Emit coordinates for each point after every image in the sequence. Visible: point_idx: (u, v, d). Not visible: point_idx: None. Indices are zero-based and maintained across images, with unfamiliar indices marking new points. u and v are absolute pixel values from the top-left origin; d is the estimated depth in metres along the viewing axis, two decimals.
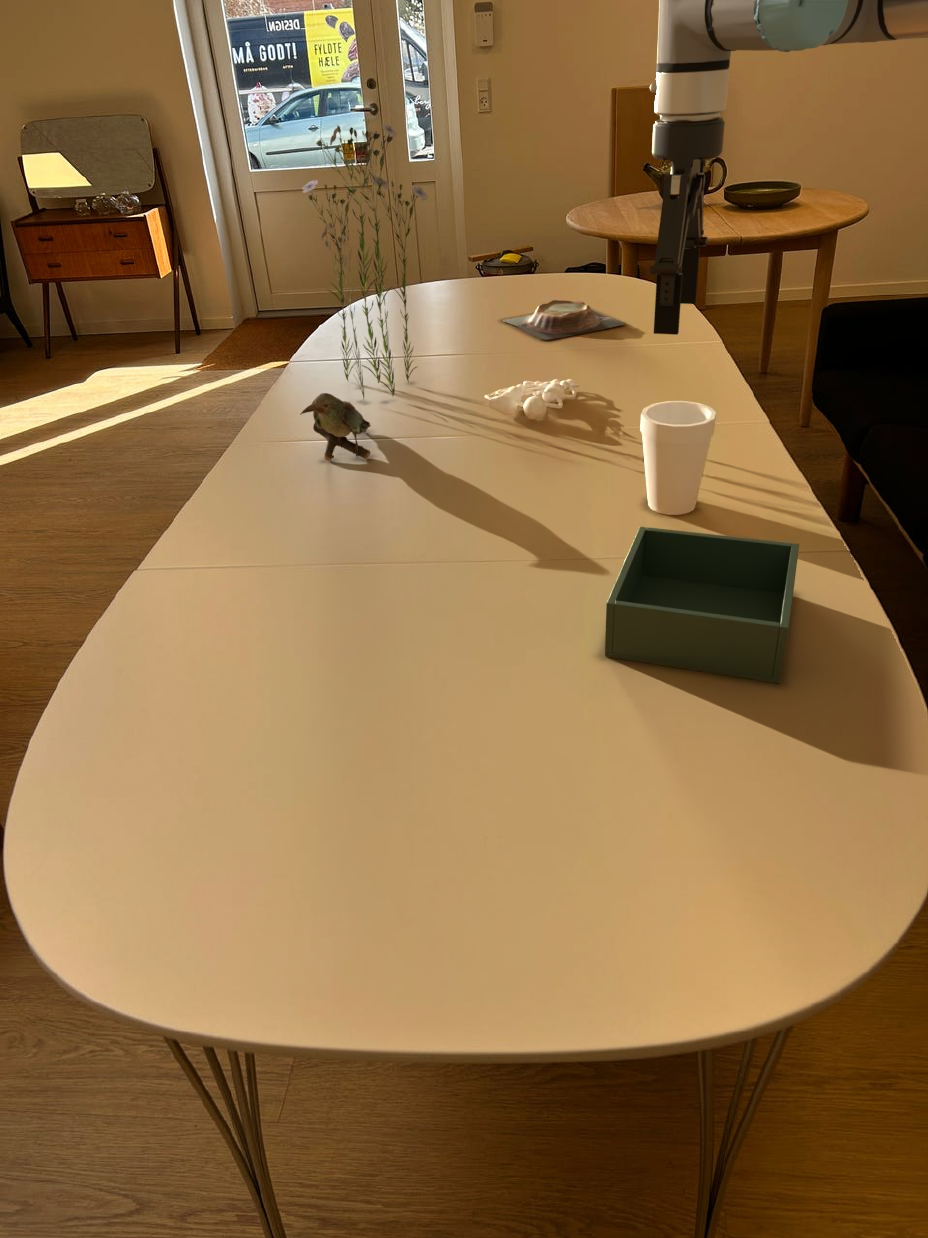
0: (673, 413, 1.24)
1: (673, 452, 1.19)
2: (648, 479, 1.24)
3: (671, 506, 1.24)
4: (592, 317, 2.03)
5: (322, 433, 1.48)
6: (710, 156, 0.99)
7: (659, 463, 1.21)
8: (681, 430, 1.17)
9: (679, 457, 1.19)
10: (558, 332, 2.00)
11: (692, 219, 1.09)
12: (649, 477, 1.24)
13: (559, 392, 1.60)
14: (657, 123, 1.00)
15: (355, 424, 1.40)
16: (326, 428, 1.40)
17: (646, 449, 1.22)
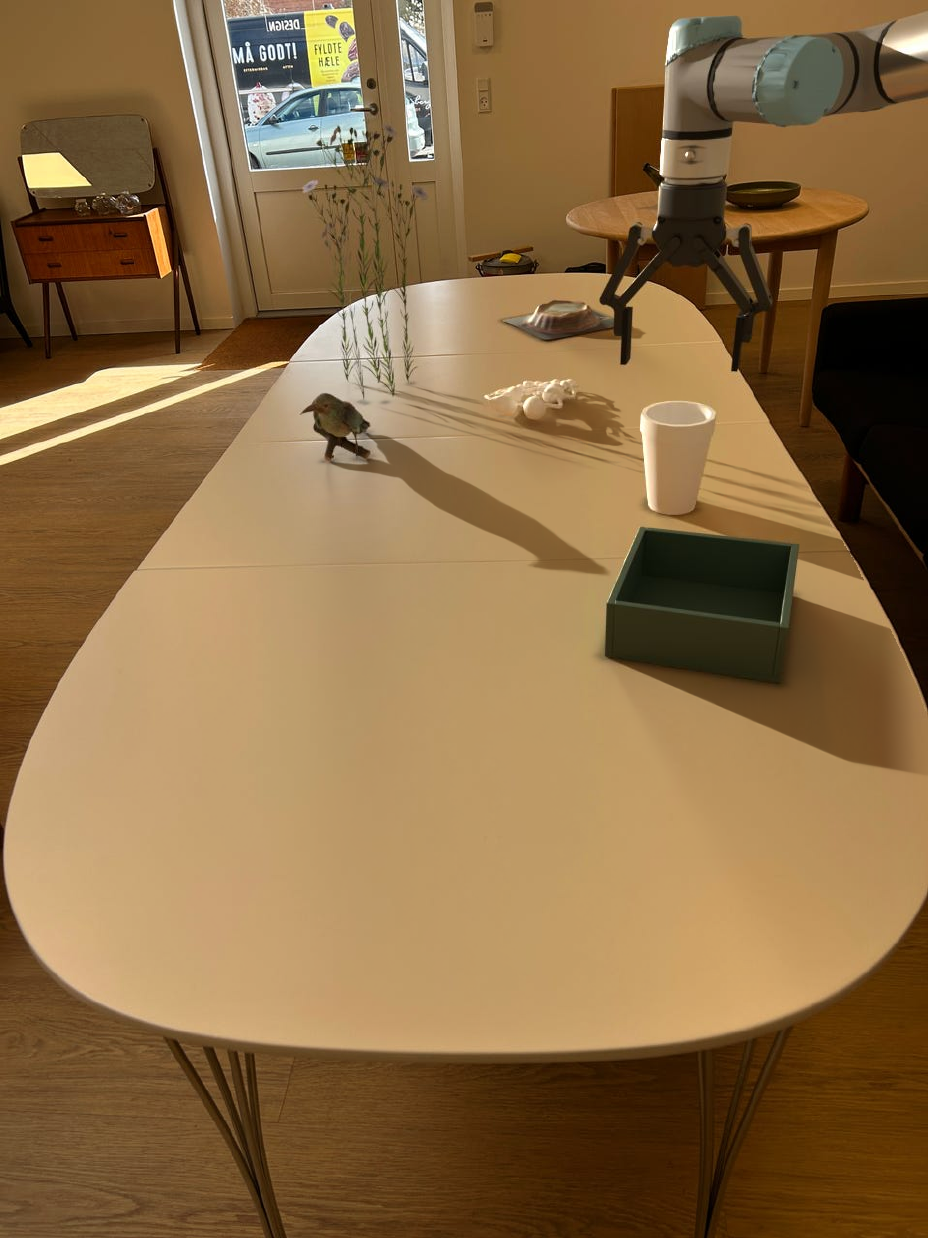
0: (673, 413, 1.24)
1: (673, 452, 1.19)
2: (648, 479, 1.24)
3: (671, 506, 1.24)
4: (592, 317, 2.03)
5: (322, 433, 1.48)
6: None
7: (659, 463, 1.21)
8: (681, 430, 1.17)
9: (679, 457, 1.19)
10: (558, 332, 2.00)
11: None
12: (649, 477, 1.24)
13: (559, 392, 1.60)
14: (705, 187, 1.02)
15: (355, 424, 1.40)
16: (326, 428, 1.40)
17: (646, 449, 1.22)
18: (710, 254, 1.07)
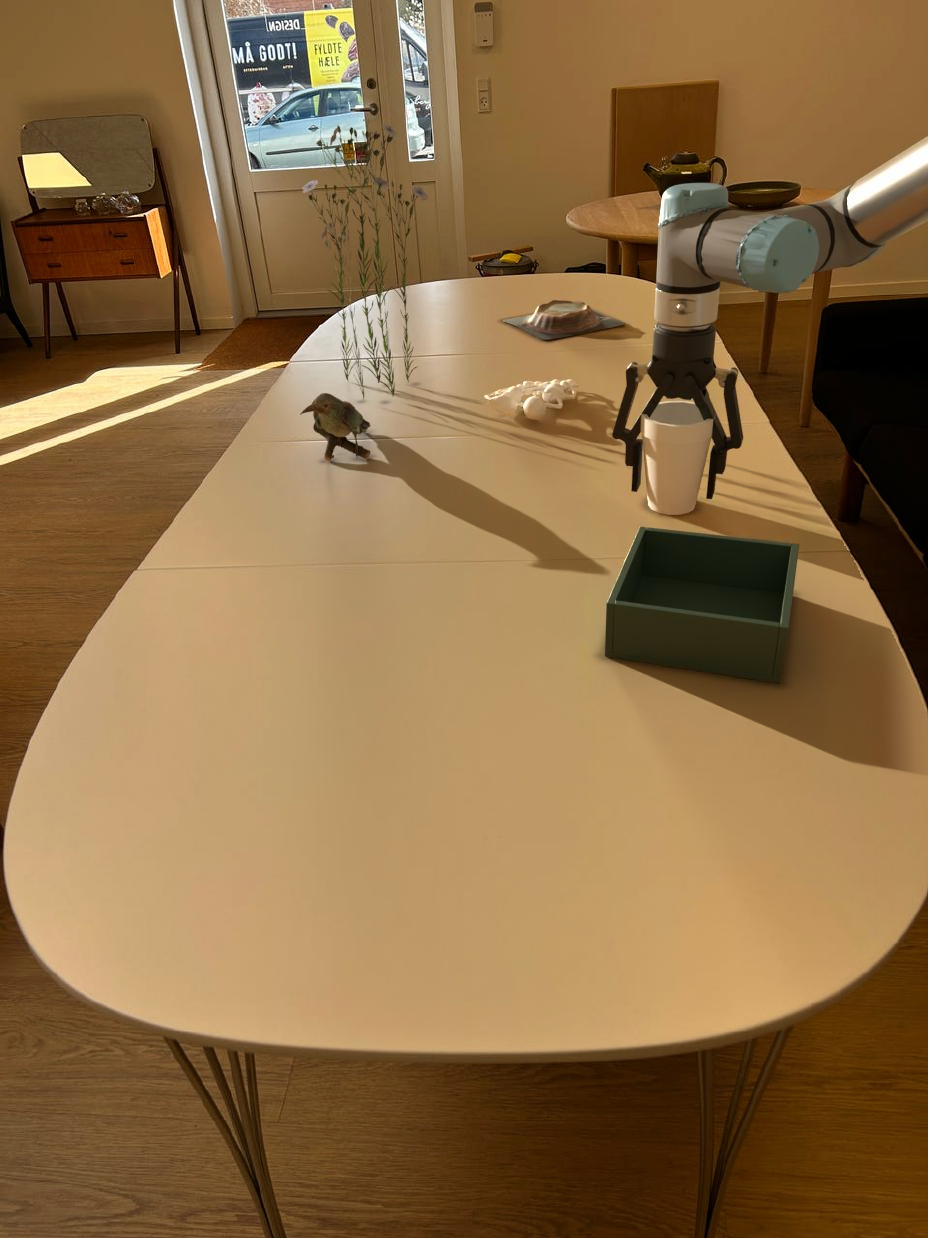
0: (673, 413, 1.24)
1: (673, 452, 1.19)
2: (648, 479, 1.24)
3: (671, 506, 1.24)
4: (592, 317, 2.03)
5: (322, 433, 1.48)
6: None
7: (659, 463, 1.21)
8: (681, 430, 1.17)
9: (679, 457, 1.19)
10: (558, 332, 2.00)
11: None
12: (649, 477, 1.24)
13: (559, 392, 1.60)
14: (695, 334, 1.11)
15: (355, 424, 1.40)
16: (326, 428, 1.40)
17: (646, 449, 1.22)
18: (698, 392, 1.16)
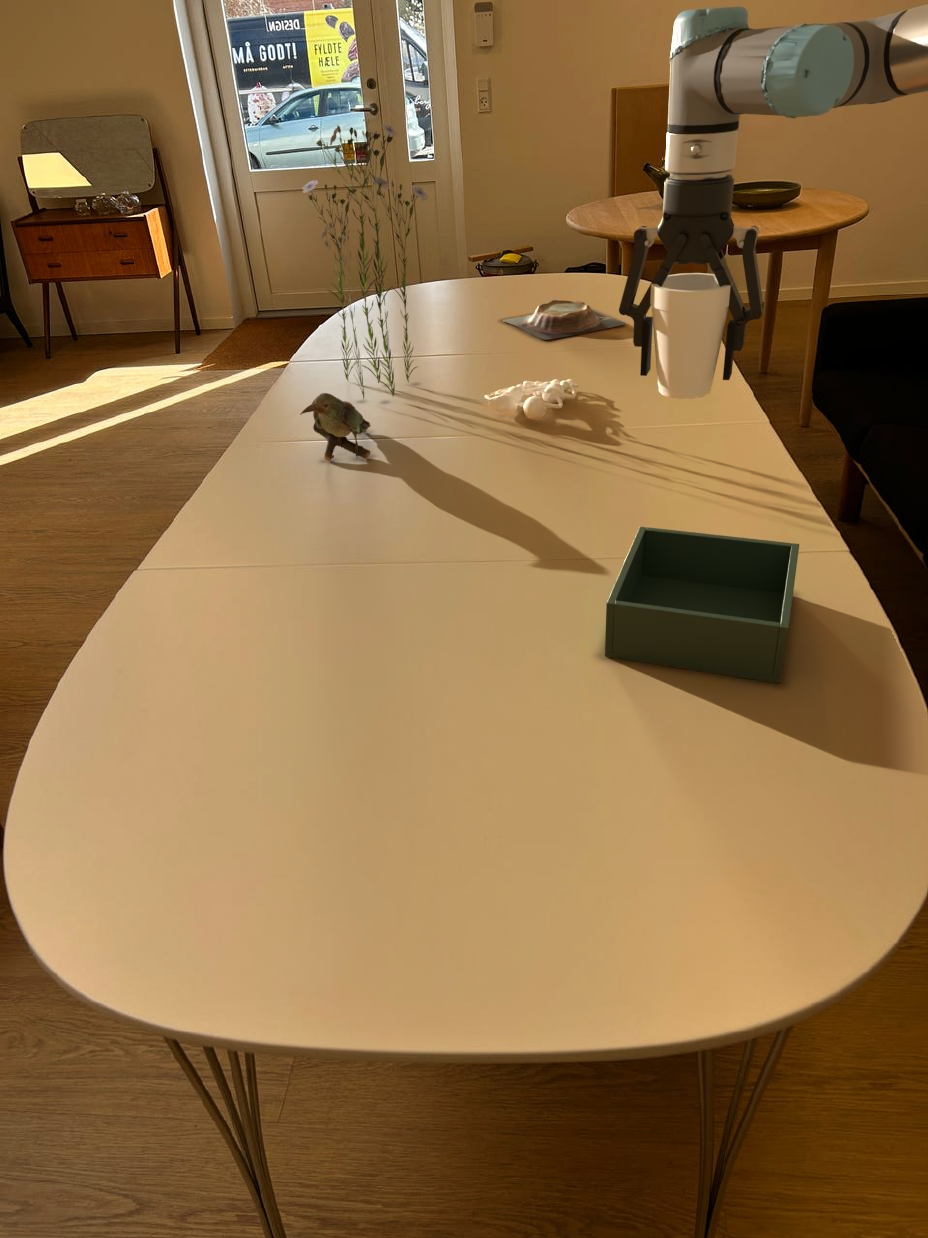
0: (686, 287, 1.13)
1: (686, 323, 1.08)
2: (659, 359, 1.13)
3: (684, 388, 1.13)
4: (592, 317, 2.03)
5: (322, 433, 1.48)
6: None
7: (671, 337, 1.09)
8: (695, 296, 1.05)
9: (693, 329, 1.08)
10: (558, 332, 2.00)
11: (664, 281, 1.11)
12: (660, 356, 1.12)
13: (559, 392, 1.60)
14: (711, 182, 1.00)
15: (355, 424, 1.40)
16: (326, 428, 1.40)
17: (656, 323, 1.11)
18: (714, 254, 1.05)
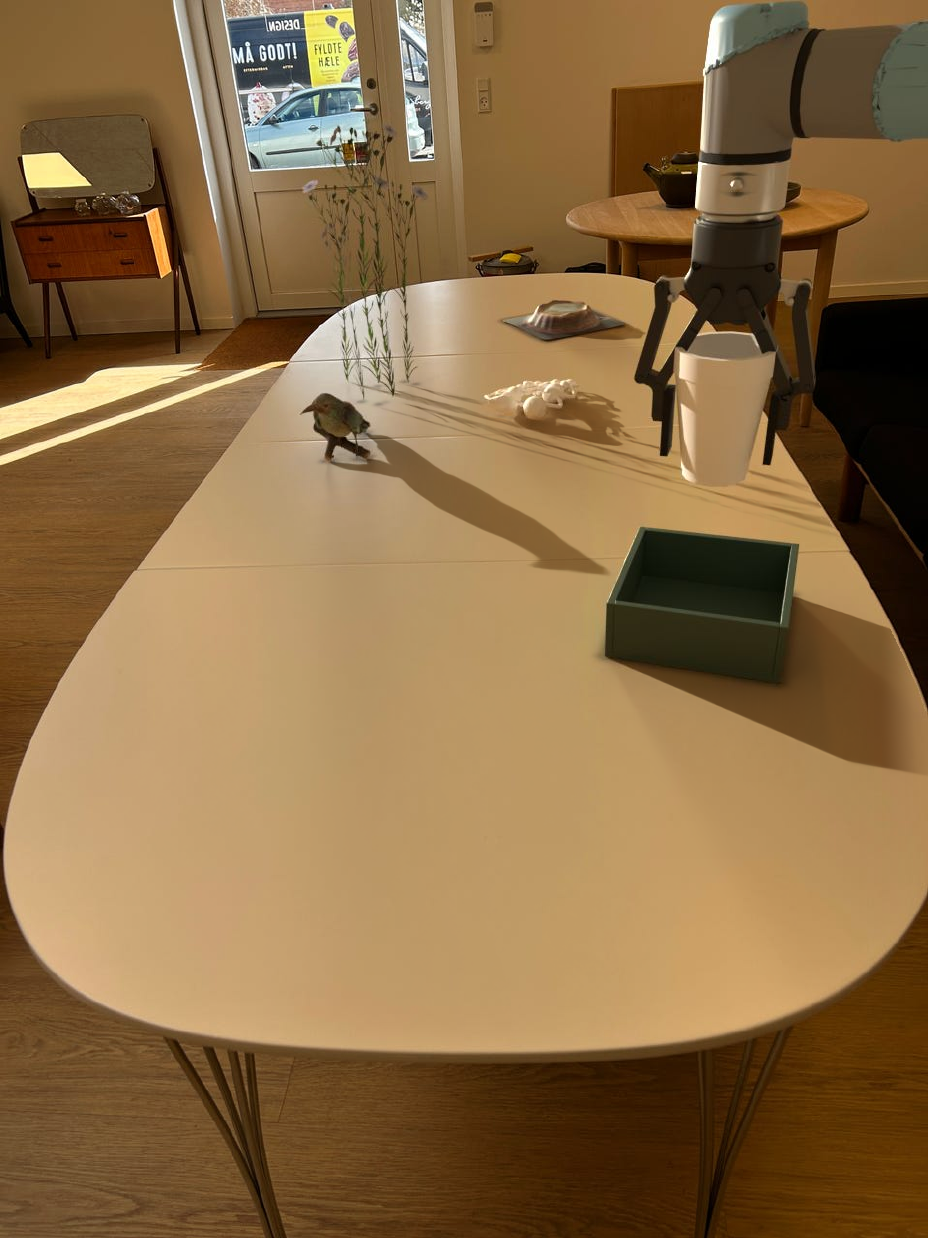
0: (717, 349, 0.91)
1: (720, 398, 0.86)
2: (683, 438, 0.91)
3: (714, 475, 0.91)
4: (592, 317, 2.03)
5: (322, 433, 1.48)
6: None
7: (700, 414, 0.88)
8: (731, 366, 0.84)
9: (728, 405, 0.86)
10: (558, 332, 2.00)
11: None
12: (685, 435, 0.91)
13: (559, 392, 1.60)
14: (755, 225, 0.78)
15: (355, 424, 1.40)
16: (326, 428, 1.40)
17: (681, 396, 0.89)
18: (756, 313, 0.83)
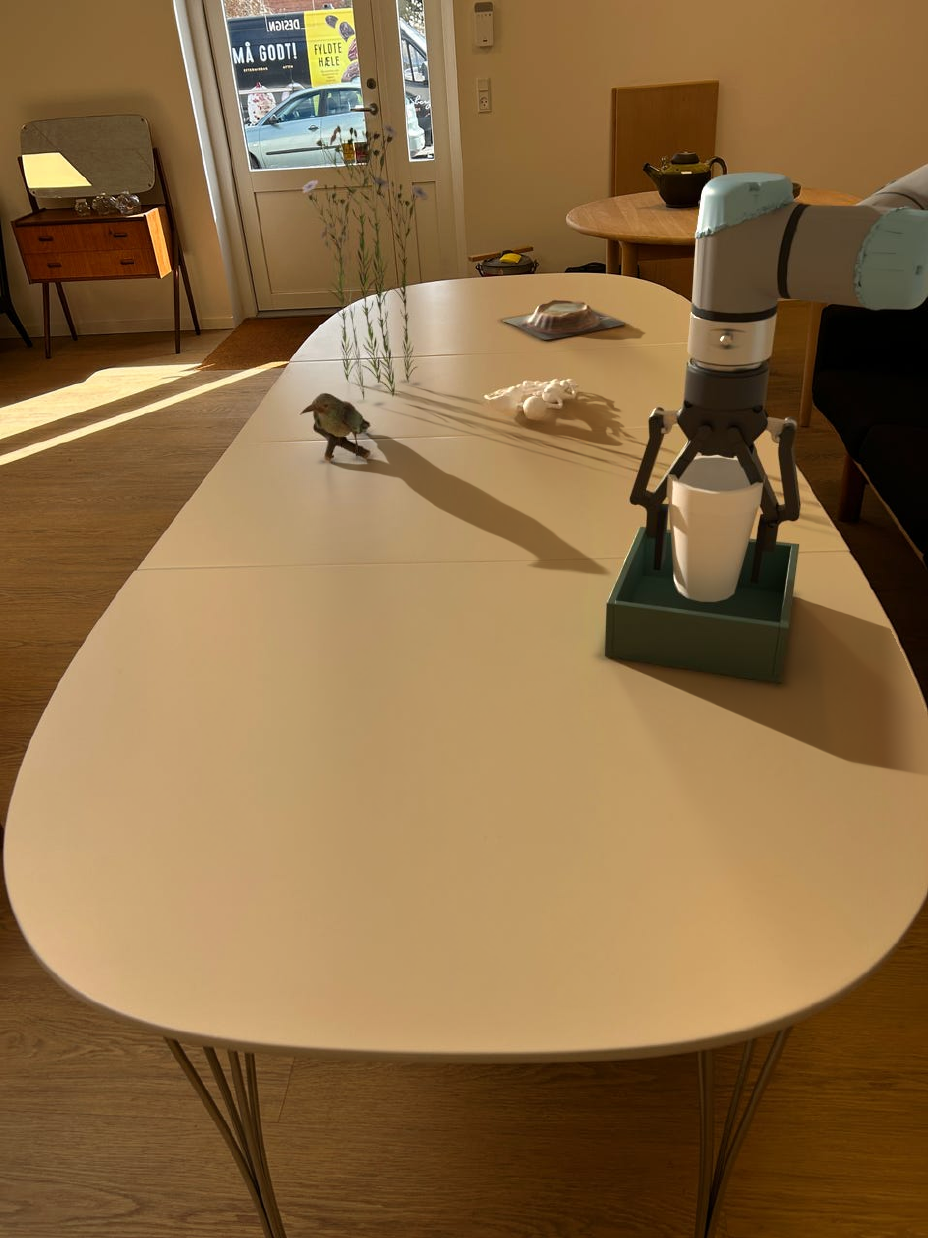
0: (708, 471, 0.96)
1: (710, 526, 0.91)
2: (676, 556, 0.96)
3: (705, 591, 0.96)
4: (592, 317, 2.03)
5: (322, 433, 1.48)
6: None
7: (692, 538, 0.93)
8: (721, 498, 0.89)
9: (718, 532, 0.91)
10: (558, 332, 2.00)
11: None
12: (677, 554, 0.96)
13: (559, 392, 1.60)
14: (744, 375, 0.83)
15: (355, 424, 1.40)
16: (326, 428, 1.40)
17: (674, 519, 0.94)
18: (744, 449, 0.88)
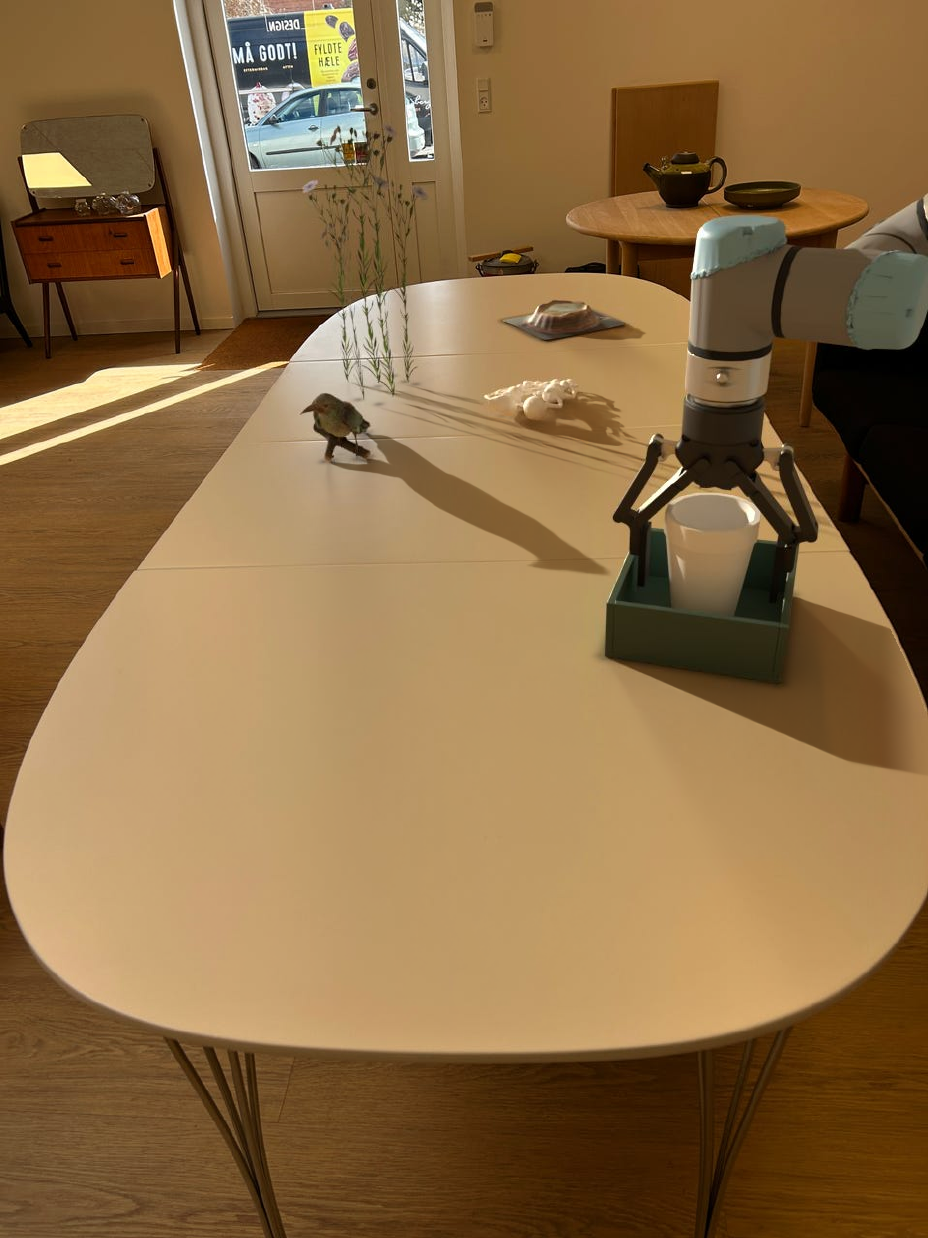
0: (705, 508, 0.99)
1: (707, 563, 0.93)
2: (673, 591, 0.99)
3: None
4: (592, 317, 2.03)
5: (322, 433, 1.48)
6: None
7: (689, 575, 0.95)
8: (717, 538, 0.91)
9: (714, 569, 0.93)
10: (558, 332, 2.00)
11: None
12: (675, 589, 0.98)
13: (559, 392, 1.60)
14: (740, 411, 0.85)
15: (355, 424, 1.40)
16: (326, 428, 1.40)
17: (671, 556, 0.96)
18: (745, 479, 0.90)
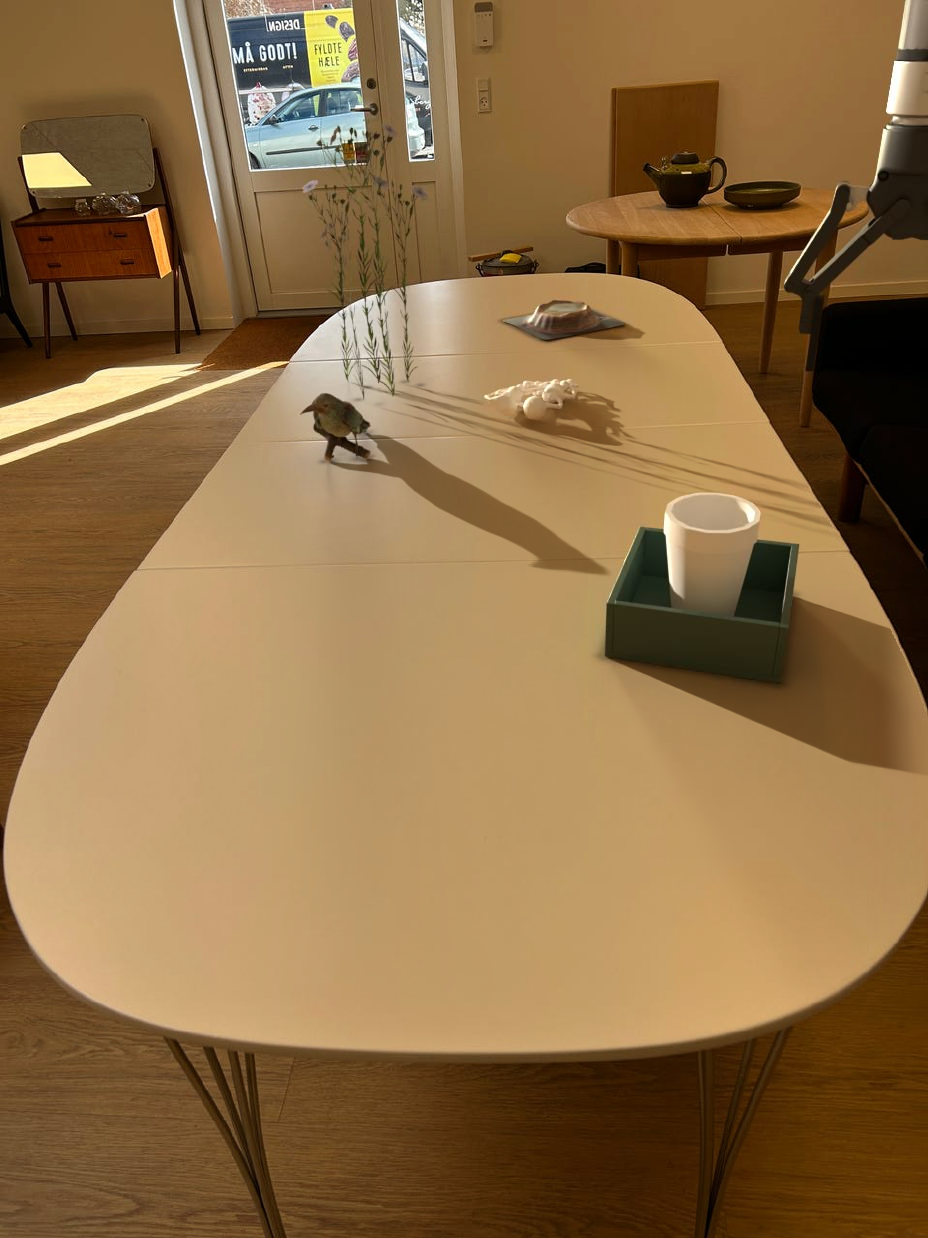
0: (705, 508, 0.99)
1: (707, 563, 0.93)
2: (673, 591, 0.99)
3: None
4: (592, 317, 2.03)
5: (322, 433, 1.48)
6: None
7: (689, 575, 0.95)
8: (717, 537, 0.91)
9: (714, 569, 0.93)
10: (558, 332, 2.00)
11: None
12: (675, 589, 0.98)
13: (559, 392, 1.60)
14: None
15: (355, 424, 1.40)
16: (326, 428, 1.40)
17: (671, 556, 0.96)
18: None
